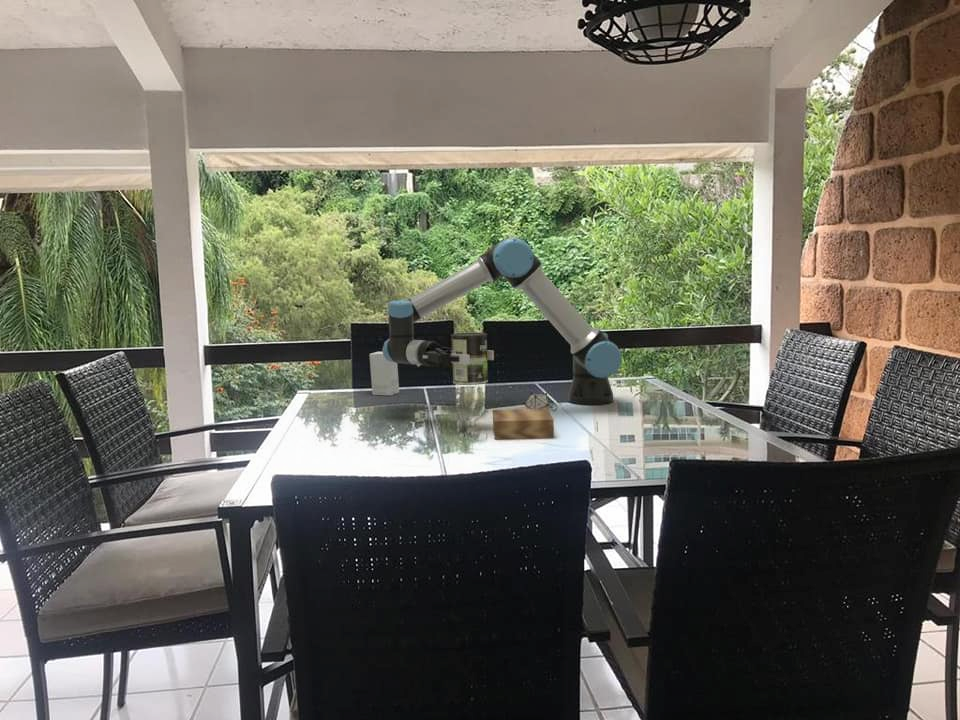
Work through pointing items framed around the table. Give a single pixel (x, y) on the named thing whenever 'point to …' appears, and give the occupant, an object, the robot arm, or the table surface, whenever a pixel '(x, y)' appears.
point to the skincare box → (383, 375)
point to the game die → (537, 402)
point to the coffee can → (478, 358)
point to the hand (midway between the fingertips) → (481, 357)
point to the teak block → (523, 424)
